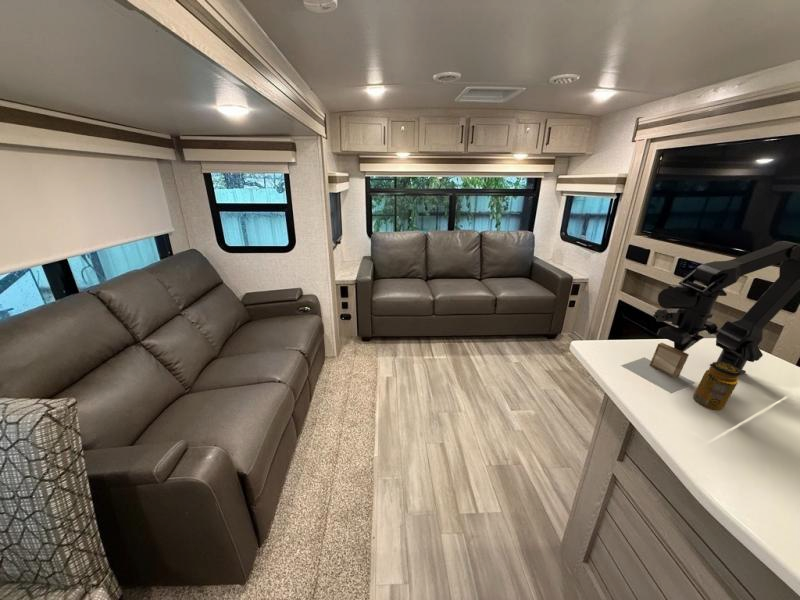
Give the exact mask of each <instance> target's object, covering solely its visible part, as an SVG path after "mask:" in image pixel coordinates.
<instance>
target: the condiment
mask: <svg viewBox="0 0 800 600" xmlns="http://www.w3.org/2000/svg"><path fill="white" fill-rule="evenodd" d="M710 364H711V366H709V369H706V371H705V372H704V374H703V376H702V378H701V380H700V382H699V384H698V385H697V387H696V390H695V392H694V393H693V397H692V399H693V400H694V402H696V403H697V404H699V405H700V406H702V407H703V408H706V409H709V410H713V411H721V410H723V408H725V406H726V404H727V403H728V401H729V399H730V398H731V395H732V394H733V392H734V390H736V389H735V388H736V387H737V385H738V383H739V381H738V380H739V377H740V376H741V375H740V370H739V369H738V368H736V367H734V366H732V365H730V364H727V363H723V362H717V361H713V362H712V363H710Z"/></svg>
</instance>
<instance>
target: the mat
mask: <svg viewBox="0 0 800 600" xmlns="http://www.w3.org/2000/svg"><path fill="white" fill-rule="evenodd" d="M651 360H652V359H649V358H646V357H641V358H638V359H635V360H633V361H629V362H628V363H624V364H622V365H620V366H621V367H623V368H624V369H626V370H628V371H629V372H632V373H633V374H636V375H637V376H639V377H641V378H643V379H644V380H646V381H648V382H649V383H652V384H654V385H656V386H657V387H659V388H661V389H662V390H664V391H667V392H668V393H670V394H674V393H675V392H678V391H680V390H682V389H685V388H686V387H687V388H688V386H692V385H694V384H695V383H696V382H695V381H693V380H691V379H690V378H687V377H685V376H683V375H681V374H680V375H679V377H677V378H673V377H671V376H669V375H667V374H665V373H663V372H661V371H659V370H657V369H655V368H653V367H651V366H649V365H650V363H651Z"/></svg>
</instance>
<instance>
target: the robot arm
mask: <svg viewBox="0 0 800 600" xmlns="http://www.w3.org/2000/svg"><path fill="white" fill-rule="evenodd" d="M777 264H780V265H779V270H778V272H779V276H778V278H777V279H776V280H775V281H774V282H773V283H772V284H771V285H770V286H769V287H768V289H767V290H766V291H765V292H764V293H763V294H762V295H761V296H760V297H759V298H758V300H756V302H754V304H753V305H752V306H751V307H750V308H749V309H748V310H747V312H746V313H745V314H744V315H743V316H742V317H741V318H740V319H738V320H735V321H729V320H728V321H726V322H725V323H724V324H723V325H722V327H720V328H719V329H718V326H717V324H716V323H715V322H713V321H712V322H711V321H708V319H711V318H713V316H714V313H712V311H713V308H714V306H715V304H716V302H717V299H718V298H719V297H727V295H728V294H727V292H726V291H725V289H726V288H728V287H730V286H733V284H736V283H738V281H739V279H740V278H741V277H743V276H745V275H747V274H751V273H754V272H757V271H760V270H763V269H765V268H766V269H767V268H768V267H771V266H774V265H777ZM799 291H800V243H795V242H792V241H791V242H790V241H786V240H782V241H775V242H774V243H773V244H771V245H769V246H766V247H763V248H761V249H758V250H755V251H751V252H749V253H747V254H744V255H741V256H739V257H736V258H732V259H729V260H717V261H714V260H713V261H711V262H706V263H702V264H699V265H698V266H697V267H696V268H695V269H694V270H692V272H691V271H690V272H689V274H688V275H687V276H685V277H684V278H683V279H681V281H679V282H678V285H676V284H669V285H668V288H664V289H662V290H660V292H659V293H658V294H657V295H658V296H657V302H658V305H659V306H660V307H661V308H662V309H661V308H659V309H657V310H656V311H654V314H653V315H652V316H653V317H654V319H655V320H656V322H658V323H659V322H666V323H670V325H667V326H663V327H661V328H660V327H659V328H658V330H657V332H656V335H657V336H659V337H661V338H664V339H666V340H668V341H670V342H673V348H676V349H678V350H680V351H682V352H686V351H688V349H690V348H691V347H692V346H694V345H696V344H697V343H698V342H700V341H702V340H703V339H704V336H702V335H700V333H701V332H704V331H707V334H708V335H713V334H716V335H715V346H716V347H717V348H721V349H722V351H721V352H720V354H719V356H718V358H717V360H716V362H723V363H727V364H730V365H732V366H734V367H736V368H738V369H739V370H740V375H739V376H742V375H744V374H746V373H747V371H746V370H745V369H744V367H745V365H746V364H747V362H750V363H754V362H756V361H759V360H761V358H762V357H763V355H764V354H763V352H762V351H761V349H760V348H759V345H760V343H761V342H762V341H763V331H764V330H763V329H764V328H765V327H766V326H767V325H768V324H769V322H771V321H772V320H773V319H774V318H775V317H776V316H777V314H778V313H779V312H780V311H782V309H783V308H784V307H785V306H786V305H787V304H788V303H789V302H790V300H792V299H793V298H794V297H795V296H796V295H797V293H798V292H799ZM676 326H677V327H676ZM716 332H717V333H716ZM711 364H712V363H710V364H709V367H711Z"/></svg>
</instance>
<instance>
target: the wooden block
mask: <svg viewBox="0 0 800 600" xmlns="http://www.w3.org/2000/svg"><path fill="white" fill-rule="evenodd" d="M688 358H689V353H687V352H686V351H684V352H682V351H680V350H678V349H676V348H674V346H671V345H668V344H666V343H664V342H660V343H657V346H656V349H655V351H654V353H653V355H652V358H651V359H650V360H651V363H650V365H649V366H651V367H653V368H655V369H657V370H659V371H661V372H663V373H665V374H667V375H669V376H671V377H673V378H677V377H679V375H681V373H682V371H683V369H684V367H685V364H686V362H687V360H688Z"/></svg>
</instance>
